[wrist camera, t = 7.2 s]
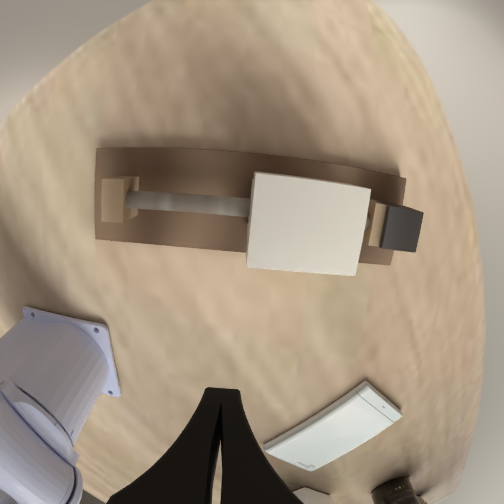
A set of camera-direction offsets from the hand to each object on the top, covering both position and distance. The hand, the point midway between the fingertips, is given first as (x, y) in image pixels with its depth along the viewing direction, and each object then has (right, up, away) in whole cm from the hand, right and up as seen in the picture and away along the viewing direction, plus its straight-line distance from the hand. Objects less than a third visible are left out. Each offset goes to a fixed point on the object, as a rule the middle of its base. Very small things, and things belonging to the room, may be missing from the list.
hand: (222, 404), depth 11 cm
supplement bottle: (+24, -32, +20) cm, 45 cm away
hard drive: (+10, -12, +14) cm, 21 cm away
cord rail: (+1, +9, +7) cm, 12 cm away
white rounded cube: (+4, +9, +6) cm, 11 cm away
